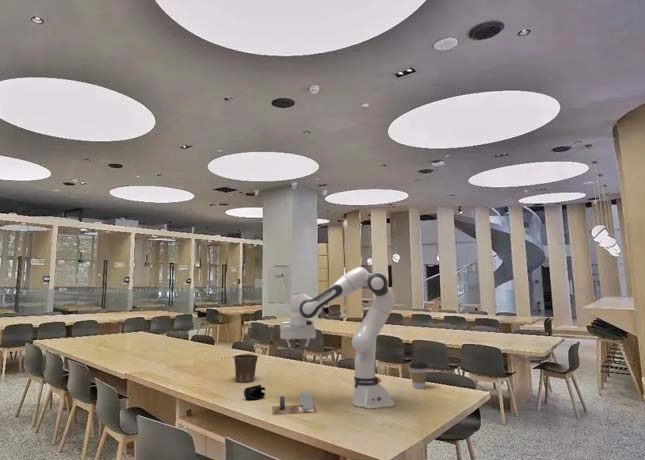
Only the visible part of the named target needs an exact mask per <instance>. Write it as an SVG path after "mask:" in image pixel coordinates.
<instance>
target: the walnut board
mask: <svg viewBox="0 0 645 460" xmlns="http://www.w3.org/2000/svg"><path fill="white" fill-rule="evenodd" d="M285 400H286V396H284V395H282V396H279V405H274V406H273V405H272V406H271V408H272V409H271V410H272V411H271V412H272V413H271V414H272V416H277V415H301V414H303V415H304V414H318V411H317V408H316V404H313V410H307V411H303V410H302V409H301V408H300V404H298V405H297V404H296V405H293V404H292V405H285V402H286V401H285Z"/></svg>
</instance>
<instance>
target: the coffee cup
mask: <svg viewBox="0 0 645 460" xmlns="http://www.w3.org/2000/svg"><path fill="white" fill-rule="evenodd" d="M408 368H410V374H411V381H412V382H411V383H412V387H413V389H417V390H425V389H426V385H427V374H428V365H427V363H426V362H425V361H411V362H410V364H409V365H408Z"/></svg>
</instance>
